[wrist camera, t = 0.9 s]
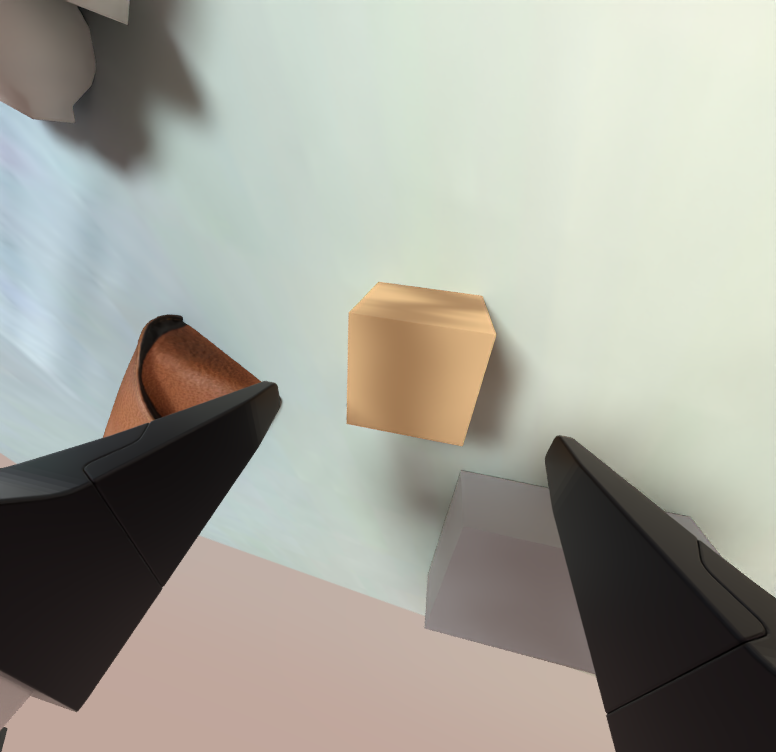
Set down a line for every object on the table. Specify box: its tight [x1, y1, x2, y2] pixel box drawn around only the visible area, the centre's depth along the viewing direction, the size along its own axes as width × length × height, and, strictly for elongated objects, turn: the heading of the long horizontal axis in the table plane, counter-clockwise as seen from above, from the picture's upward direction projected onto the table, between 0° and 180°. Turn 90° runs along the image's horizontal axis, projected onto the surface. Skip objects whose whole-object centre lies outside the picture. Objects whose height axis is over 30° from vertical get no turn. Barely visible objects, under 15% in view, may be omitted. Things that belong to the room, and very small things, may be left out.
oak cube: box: [347, 282, 496, 446], centre depth 13 cm, size 5×5×5 cm
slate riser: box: [425, 470, 721, 674], centre depth 20 cm, size 14×14×4 cm
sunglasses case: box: [103, 315, 280, 438], centre depth 21 cm, size 18×7×7 cm
